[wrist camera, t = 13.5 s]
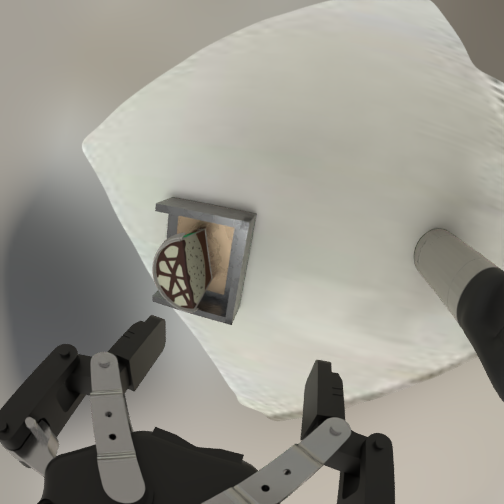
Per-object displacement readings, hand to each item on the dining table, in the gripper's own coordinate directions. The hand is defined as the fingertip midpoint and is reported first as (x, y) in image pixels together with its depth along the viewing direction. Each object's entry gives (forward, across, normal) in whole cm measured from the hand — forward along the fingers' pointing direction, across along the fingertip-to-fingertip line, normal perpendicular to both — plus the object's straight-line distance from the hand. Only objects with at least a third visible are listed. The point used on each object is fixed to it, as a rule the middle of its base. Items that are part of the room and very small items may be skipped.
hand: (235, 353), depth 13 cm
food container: (+32, +14, +10) cm, 36 cm away
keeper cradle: (+33, +12, +10) cm, 37 cm away
